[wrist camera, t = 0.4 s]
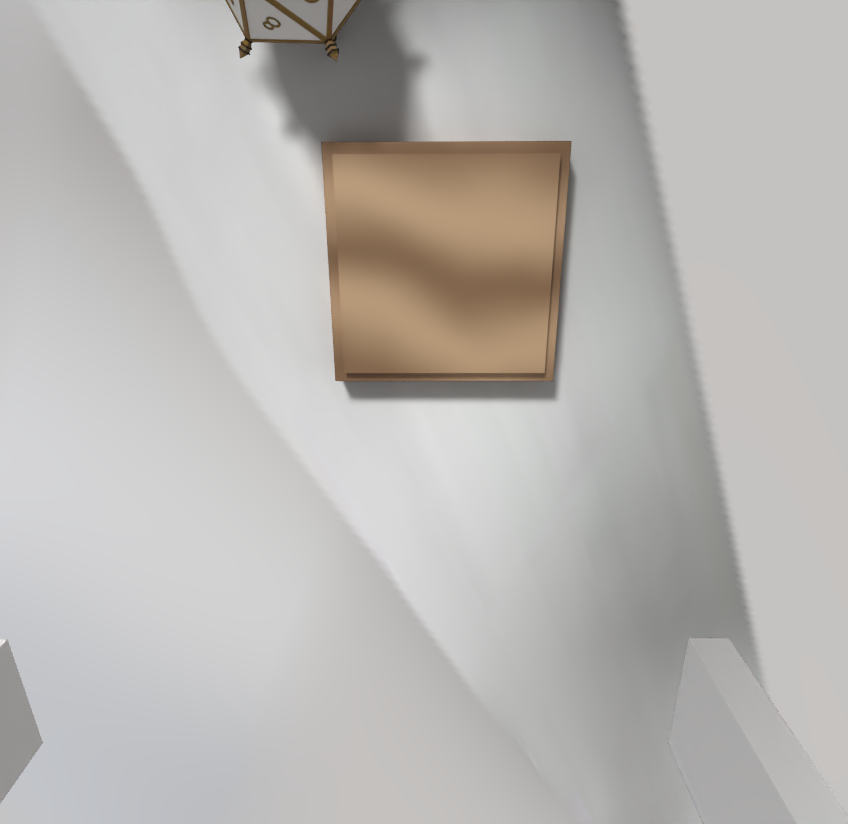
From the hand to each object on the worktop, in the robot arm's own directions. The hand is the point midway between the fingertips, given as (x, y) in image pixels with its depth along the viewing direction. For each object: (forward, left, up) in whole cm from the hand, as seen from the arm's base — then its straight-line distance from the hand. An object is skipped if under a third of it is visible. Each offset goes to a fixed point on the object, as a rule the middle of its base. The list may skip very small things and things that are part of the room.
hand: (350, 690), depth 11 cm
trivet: (-5, +2, -26) cm, 26 cm away
